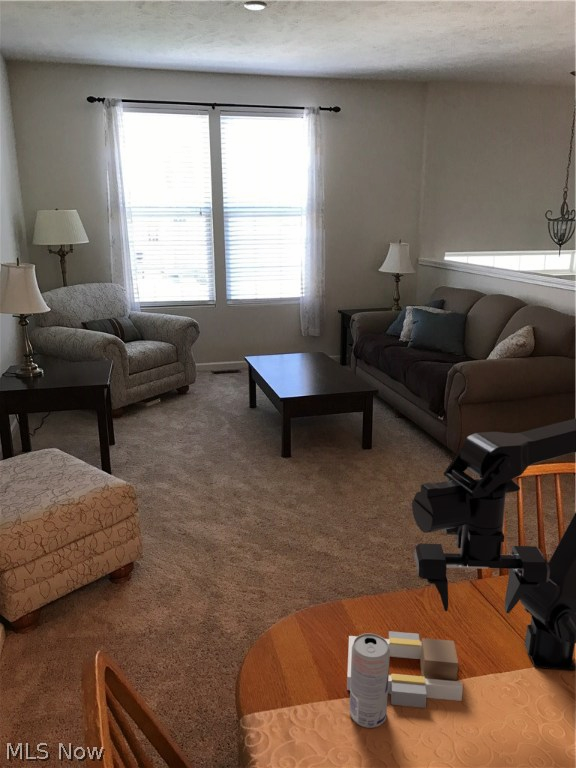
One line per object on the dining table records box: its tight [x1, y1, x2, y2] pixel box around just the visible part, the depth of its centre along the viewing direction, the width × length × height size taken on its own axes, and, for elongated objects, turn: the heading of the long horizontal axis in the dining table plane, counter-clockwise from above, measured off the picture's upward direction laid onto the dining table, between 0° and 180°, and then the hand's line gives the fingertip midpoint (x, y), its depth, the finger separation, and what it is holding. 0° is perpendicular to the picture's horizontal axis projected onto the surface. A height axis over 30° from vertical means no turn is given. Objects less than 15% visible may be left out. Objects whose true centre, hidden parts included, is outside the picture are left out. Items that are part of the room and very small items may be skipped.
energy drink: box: [349, 632, 391, 729], centre depth 85 cm, size 5×5×12 cm
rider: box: [419, 637, 459, 681], centre depth 93 cm, size 5×5×5 cm
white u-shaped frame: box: [346, 630, 464, 708], centre depth 94 cm, size 17×13×3 cm
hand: (475, 610), depth 90 cm, fingers open, 9 cm apart
